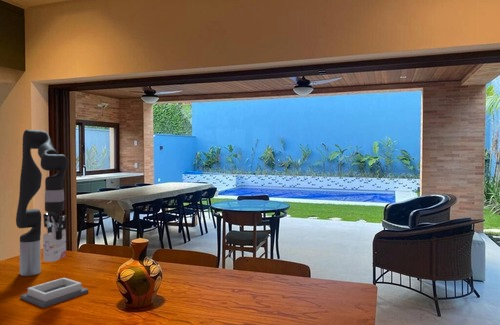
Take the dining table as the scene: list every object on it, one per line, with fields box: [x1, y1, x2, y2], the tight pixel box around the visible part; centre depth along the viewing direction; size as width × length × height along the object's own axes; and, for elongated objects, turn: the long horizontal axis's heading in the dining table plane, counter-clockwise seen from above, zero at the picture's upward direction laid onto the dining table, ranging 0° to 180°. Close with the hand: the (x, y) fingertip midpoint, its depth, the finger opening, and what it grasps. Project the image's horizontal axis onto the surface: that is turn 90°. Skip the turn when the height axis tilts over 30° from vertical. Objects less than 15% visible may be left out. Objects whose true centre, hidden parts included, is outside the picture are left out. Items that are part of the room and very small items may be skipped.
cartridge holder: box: [20, 277, 89, 309], centre depth 163 cm, size 18×20×4 cm
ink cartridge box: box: [42, 225, 67, 263], centre depth 163 cm, size 9×5×15 cm, turn 168°
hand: (54, 238), depth 163 cm, fingers closed on ink cartridge box, 6 cm apart
